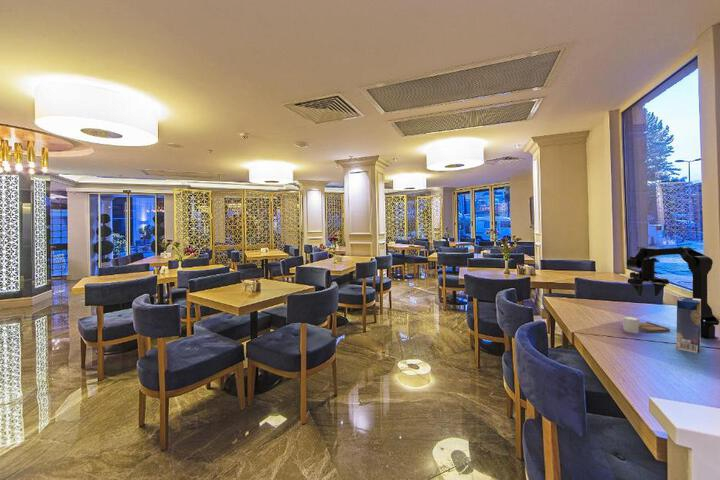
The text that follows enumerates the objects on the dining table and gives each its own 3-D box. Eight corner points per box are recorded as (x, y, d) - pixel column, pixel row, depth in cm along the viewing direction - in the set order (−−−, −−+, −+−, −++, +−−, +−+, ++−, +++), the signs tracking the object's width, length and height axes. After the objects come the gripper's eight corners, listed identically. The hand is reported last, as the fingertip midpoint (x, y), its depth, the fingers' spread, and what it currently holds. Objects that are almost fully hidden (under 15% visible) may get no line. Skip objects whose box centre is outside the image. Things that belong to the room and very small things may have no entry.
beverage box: (700, 346, 138) (701, 298, 137) (699, 353, 131) (700, 303, 130) (678, 342, 143) (679, 296, 142) (676, 348, 136) (677, 300, 135)
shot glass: (643, 333, 156) (643, 320, 156) (627, 333, 157) (627, 319, 157) (633, 329, 162) (634, 316, 162) (619, 328, 164) (619, 316, 164)
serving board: (669, 331, 157) (669, 328, 157) (647, 332, 157) (647, 329, 157) (647, 324, 169) (647, 321, 169) (626, 325, 169) (626, 322, 169)
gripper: (652, 267, 183) (651, 292, 184) (620, 267, 184) (620, 293, 185) (669, 269, 172) (669, 296, 173) (635, 270, 173) (635, 297, 174)
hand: (647, 295), depth 176 cm, fingers open, 9 cm apart
